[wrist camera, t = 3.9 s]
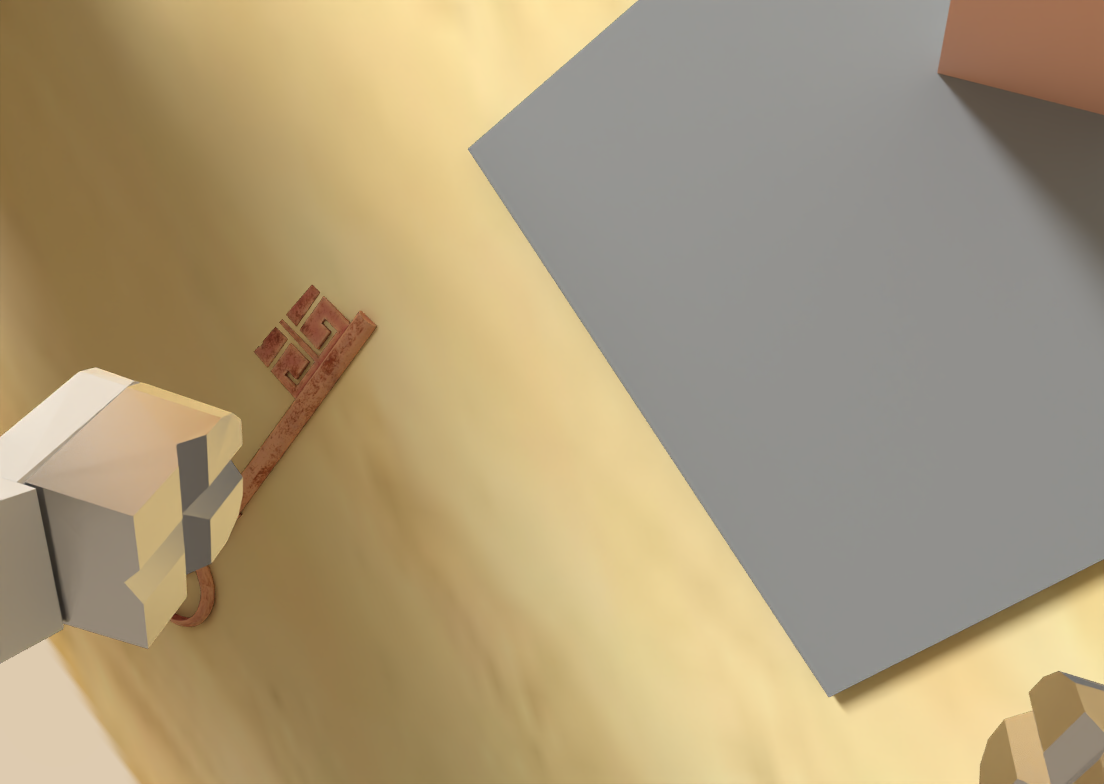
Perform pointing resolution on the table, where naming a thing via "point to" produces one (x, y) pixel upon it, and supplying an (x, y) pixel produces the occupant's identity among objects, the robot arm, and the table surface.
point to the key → (304, 393)
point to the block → (1029, 48)
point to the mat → (835, 302)
